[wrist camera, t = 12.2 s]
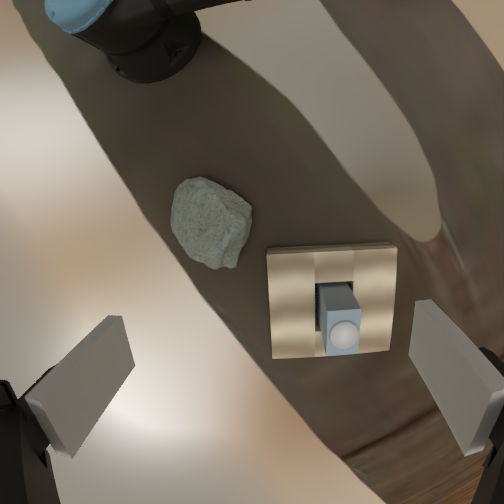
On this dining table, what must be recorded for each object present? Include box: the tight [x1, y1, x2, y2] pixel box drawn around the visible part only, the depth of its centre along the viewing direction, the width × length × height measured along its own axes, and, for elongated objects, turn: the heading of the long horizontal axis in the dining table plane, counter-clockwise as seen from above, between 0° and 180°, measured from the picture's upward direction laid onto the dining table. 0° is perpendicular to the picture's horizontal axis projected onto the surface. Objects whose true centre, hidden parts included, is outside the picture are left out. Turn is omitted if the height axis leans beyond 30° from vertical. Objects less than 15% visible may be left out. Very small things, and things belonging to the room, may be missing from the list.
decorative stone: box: [171, 177, 252, 269], centre depth 44 cm, size 13×11×10 cm
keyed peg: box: [317, 281, 361, 356], centre depth 42 cm, size 4×6×13 cm, turn 4°
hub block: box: [267, 242, 397, 359], centre depth 46 cm, size 16×18×4 cm
